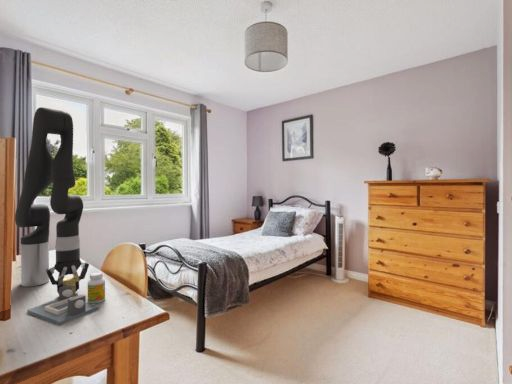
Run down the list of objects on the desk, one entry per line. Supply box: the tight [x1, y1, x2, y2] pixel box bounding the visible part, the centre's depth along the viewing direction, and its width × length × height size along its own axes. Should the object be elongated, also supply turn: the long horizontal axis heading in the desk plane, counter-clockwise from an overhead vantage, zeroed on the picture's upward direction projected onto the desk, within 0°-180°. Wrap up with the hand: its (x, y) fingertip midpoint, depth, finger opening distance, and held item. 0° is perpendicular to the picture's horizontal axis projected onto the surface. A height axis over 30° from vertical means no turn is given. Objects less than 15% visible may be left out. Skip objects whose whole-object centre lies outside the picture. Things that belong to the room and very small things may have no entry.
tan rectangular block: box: [62, 276, 77, 296], centre depth 104 cm, size 4×4×6 cm
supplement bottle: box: [87, 271, 106, 304], centre depth 99 cm, size 5×5×10 cm
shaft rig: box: [26, 285, 99, 326], centre depth 90 cm, size 18×12×6 cm, turn 64°
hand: (68, 292), depth 104 cm, fingers closed on tan rectangular block, 4 cm apart
